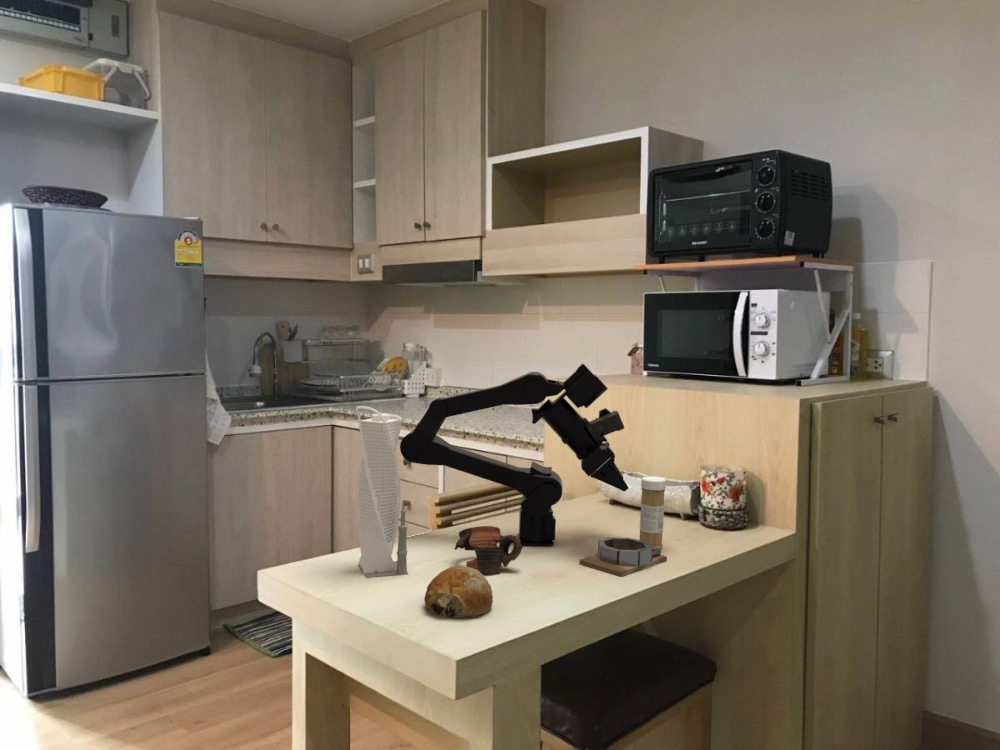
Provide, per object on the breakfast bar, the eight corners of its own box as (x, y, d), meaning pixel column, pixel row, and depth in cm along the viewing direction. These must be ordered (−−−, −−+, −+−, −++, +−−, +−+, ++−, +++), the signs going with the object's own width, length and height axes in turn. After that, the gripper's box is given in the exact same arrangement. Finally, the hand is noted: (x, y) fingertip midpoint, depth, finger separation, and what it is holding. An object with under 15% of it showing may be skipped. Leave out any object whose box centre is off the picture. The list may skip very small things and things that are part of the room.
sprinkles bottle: (648, 542, 159) (652, 474, 158) (667, 548, 156) (671, 479, 155) (633, 546, 156) (636, 477, 155) (651, 552, 153) (655, 481, 152)
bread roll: (494, 638, 119) (515, 586, 120) (441, 621, 113) (463, 567, 114) (458, 616, 127) (478, 568, 128) (406, 599, 121) (427, 549, 123)
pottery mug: (449, 577, 136) (446, 528, 139) (467, 586, 144) (464, 540, 148) (519, 566, 133) (513, 517, 137) (533, 576, 142) (528, 529, 145)
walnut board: (621, 576, 138) (621, 572, 138) (579, 564, 144) (579, 559, 144) (666, 560, 148) (666, 556, 148) (625, 549, 154) (625, 545, 154)
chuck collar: (630, 569, 139) (630, 554, 139) (588, 556, 146) (589, 543, 145) (666, 556, 147) (667, 543, 147) (625, 545, 154) (625, 532, 153)
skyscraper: (357, 580, 132) (361, 408, 130) (348, 565, 139) (351, 403, 137) (408, 576, 135) (413, 408, 133) (396, 561, 143) (400, 402, 140)
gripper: (603, 401, 145) (662, 465, 145) (596, 391, 164) (649, 448, 164) (557, 443, 146) (616, 506, 146) (556, 428, 165) (608, 485, 165)
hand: (624, 484), depth 155 cm, fingers open, 9 cm apart
